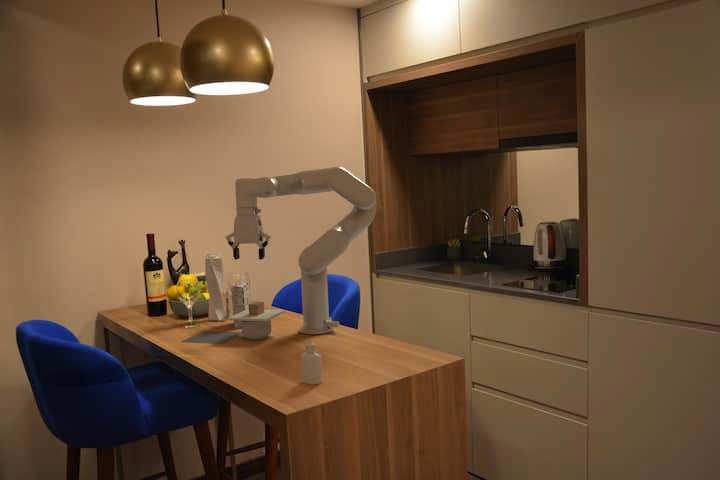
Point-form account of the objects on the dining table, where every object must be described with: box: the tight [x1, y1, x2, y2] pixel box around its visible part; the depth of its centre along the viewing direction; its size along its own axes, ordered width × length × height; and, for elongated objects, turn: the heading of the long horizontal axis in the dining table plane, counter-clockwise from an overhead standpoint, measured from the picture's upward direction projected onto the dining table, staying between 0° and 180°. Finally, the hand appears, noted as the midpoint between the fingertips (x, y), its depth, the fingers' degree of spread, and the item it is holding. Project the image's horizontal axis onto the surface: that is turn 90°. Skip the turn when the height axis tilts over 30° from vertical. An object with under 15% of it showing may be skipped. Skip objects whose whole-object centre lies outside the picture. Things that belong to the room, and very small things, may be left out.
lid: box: [227, 301, 286, 322], centre depth 226 cm, size 15×15×5 cm
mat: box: [180, 330, 243, 345], centre depth 228 cm, size 17×17×1 cm
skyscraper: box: [204, 252, 232, 322], centre depth 259 cm, size 8×8×28 cm
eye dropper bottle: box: [300, 339, 323, 385], centre depth 174 cm, size 4×6×12 cm
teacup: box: [240, 319, 272, 341], centre depth 227 cm, size 14×11×8 cm
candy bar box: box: [230, 281, 251, 329], centre depth 246 cm, size 11×5×16 cm, turn 179°
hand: (249, 259), depth 232 cm, fingers open, 9 cm apart
